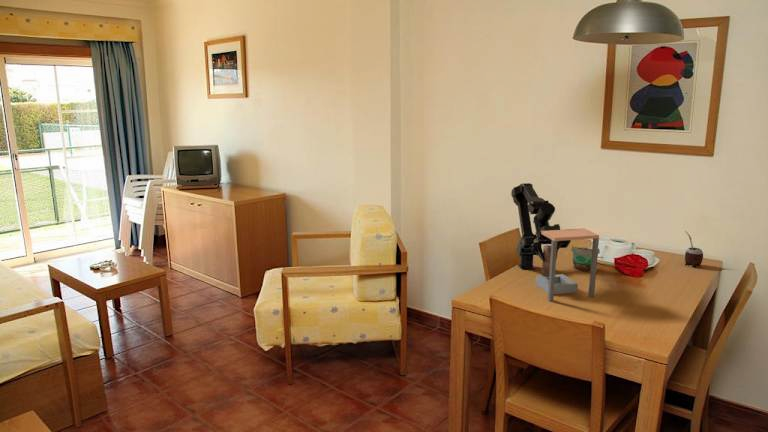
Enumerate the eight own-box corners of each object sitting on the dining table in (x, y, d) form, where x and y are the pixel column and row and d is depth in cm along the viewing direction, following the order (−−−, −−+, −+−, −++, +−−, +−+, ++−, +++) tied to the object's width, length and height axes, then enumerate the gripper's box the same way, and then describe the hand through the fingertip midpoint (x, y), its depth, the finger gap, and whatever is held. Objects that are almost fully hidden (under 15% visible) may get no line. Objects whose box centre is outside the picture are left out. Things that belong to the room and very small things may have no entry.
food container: (567, 269, 238) (569, 248, 236) (569, 265, 243) (571, 244, 241) (597, 273, 232) (598, 251, 230) (598, 269, 238) (600, 248, 235)
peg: (539, 274, 215) (541, 246, 212) (548, 272, 216) (549, 244, 213) (547, 278, 211) (548, 249, 208) (555, 276, 212) (557, 247, 210)
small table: (528, 284, 220) (531, 225, 214) (569, 281, 223) (573, 223, 218) (550, 301, 202) (554, 238, 196) (594, 297, 205) (599, 235, 199)
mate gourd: (702, 269, 236) (706, 236, 233) (682, 266, 240) (686, 234, 236) (700, 264, 243) (704, 232, 240) (681, 262, 246) (685, 231, 243)
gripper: (524, 217, 212) (531, 252, 204) (570, 216, 212) (579, 251, 204) (518, 231, 221) (524, 264, 213) (562, 230, 222) (570, 263, 214)
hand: (549, 261), depth 211 cm, fingers closed on peg, 4 cm apart
